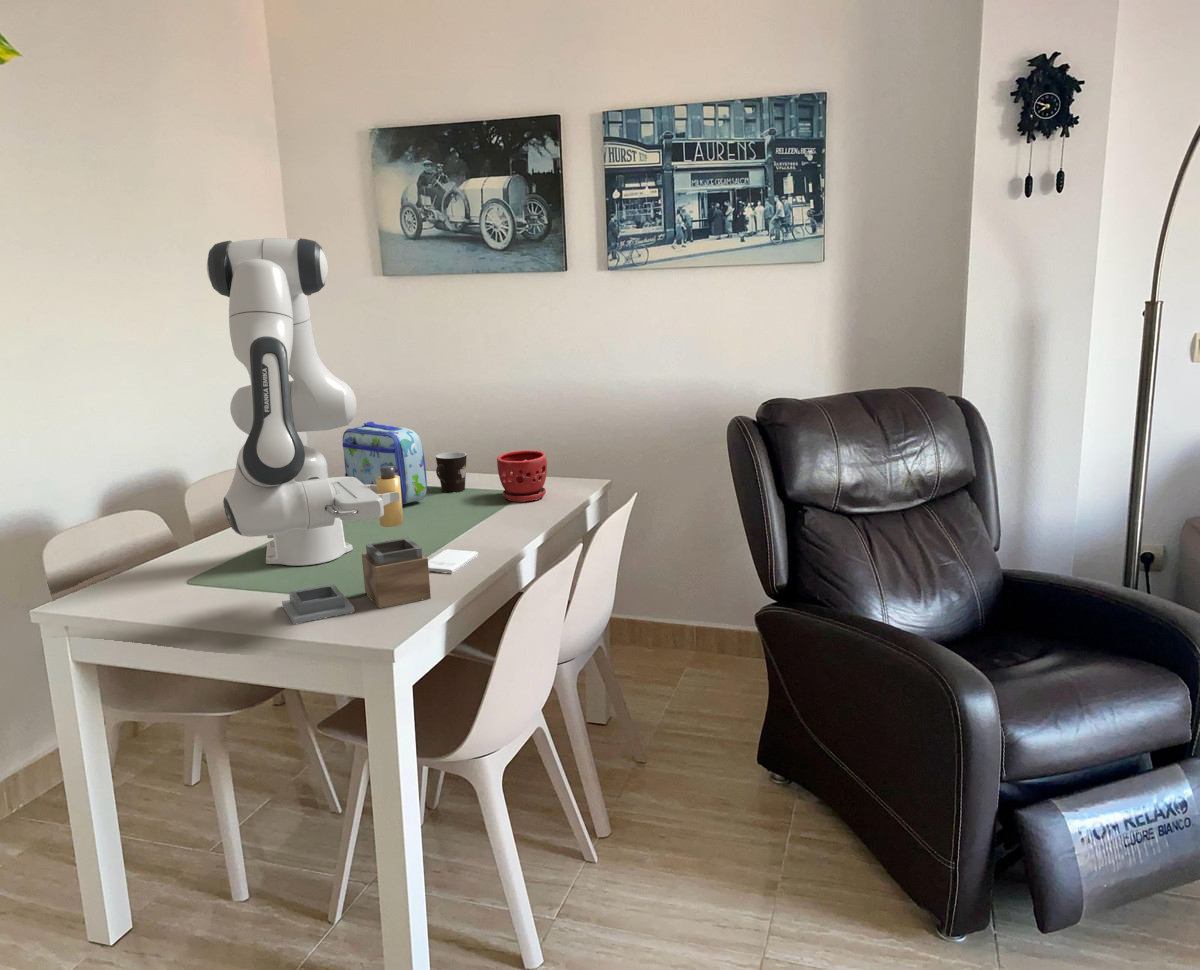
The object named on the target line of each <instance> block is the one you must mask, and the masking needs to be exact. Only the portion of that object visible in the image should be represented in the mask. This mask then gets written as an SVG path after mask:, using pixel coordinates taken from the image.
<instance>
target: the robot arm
mask: <svg viewBox="0 0 1200 970" xmlns="http://www.w3.org/2000/svg"><path fill="white" fill-rule="evenodd" d="M328 265H329V264H328V259H327V256H326V255H325V252H324V250H323V247H322V245H320V244H319V243H318V241H316V240H311V239H307V238H303V237H302V238H299V239H295V238H293V239H292V238H283V237H264V238H258V239H257V238H255V239H246V240H237V241H232V240H225V241H220V242H217V243H214V244H213V246H212V247H211V248H210V249H209V251H208V256H207V261H206V272H207V276H208V279H209V281H210V283H211V286H212V288H213V290H215V291H216V292H217V293H218V294H220V295H222V296H224V297H227V298H229V300H228V303H229V304H228V322H229V323H228V326H229V327H228V328H229V336H230V341H231V342H230V343H231V345H232V346H231V347H232V350H233V351H232V352H233V354H234V357H235V358H236V359H237V360H238V362H240V363H241V364H242V365H243V366H244V367H245V369H246V370H247V372H248V374H249V376H248V377H249V380H250V384H249V385H246V386H242V387H238V388H237V390H236V391H235V392H234V394H233V395H232V398H231V402H230V408H229V409H230V411H229V412H230V415H231V418H232V420H233V422H234V424H235V425H236V426H237V428H238V429H239V430H240V431H242V432H243V433H245V434H247V435H248V436H247V438H246V441H245V442H244V444H243V445H242V447H240V450H239V452H238V455H237V457H236V465H235V472H234V475H233V478H232V480H231V484H230V486H229V489H228V490H227V492H226V494H225V496H224V497H223V502H222V503H223V509H224V513H225V516H226V518H227V521H228V523H229V525H230V527H231V529H232V530H233V531H234V532H235V533H236V534H238V535H240V536H242V537H266V536H267V539H273V540H272V541H271V540H270V541H268V542H267V544H266V554H265V564H267V565H283V566H284V565H286V566H310V565H311V566H312V565H316V564H323V563H327V562H330V561H331V562H332V561H333V560H336V559H339V558H340V557H342V556H343V555H345V553H348V552H351V551H353V550H354V549H353V548H354V547H353V545H352V544H351V543H349V542H346V541H345V539H346V538H345V534H344V526H343V522H358V521H368V520H376V519H377V520H378V519H379V518H380V517H382V516H383V515H384V507H383V506H384V505H386V504H389V503H391V502H397V501H399V493H398V492H397V491H388V493H384V494H377V485H371V484H368V485H364V484H363V483H362V482H360V481H359V480H358V479H357V478H355V477H345V476H336V477H329V472H328V470H329V469H328V462H327V460H326V457H325V456H324V455H323V454H322V453H321V452H319V450H317V449H314V448H312V447H309V446H307V445H306V446H305V445H304V443H303V441H302V440H301V438H300V435H299V434H298V433H305V432H307V433H308V432H319V431H320V432H321V431H322V432H323V431H331V430H335V429H339V428H342V427H345V426H348V425H350V424H351V422H352V421H353V419H354V418H355V415H356V414H357V407H358V405H357V404H358V402H357V398H356V394H355V392H354V390H353V389H352V388H351V386H350V385H349V384H348V383H347V382H345V381H343V380H342V379H340V378H339V377H337V376H336V375H334V373H332V372H331V371H330V370H329V368H328V367H326V365H325V363H324V362H323V361H322V359H321V358H320V356H319V354H318V351H317V345H316V343H315V342H316V341H315V338H314V333H313V332H314V331H313V326H312V319H311V317H312V316H311V310H310V305H309V299H308V297H310V296H311V295H313V294H316V293H319V292H320V291H321V290H322V289H323V288H324V287H325V284H326V280H327V278H328V274H329V266H328ZM289 376H290V377H291V378H292V379H293V380H290V378H289Z"/></svg>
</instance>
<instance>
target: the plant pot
mask: <svg viewBox="0 0 1200 970" xmlns="http://www.w3.org/2000/svg"><path fill="white" fill-rule="evenodd" d="M496 464H497V472H498V476H499V477H498V478H499V480H500V483H501V486H502V488H503V489H504V490H503V491H502V495H503V497H504V498H505V499H506V500H508V501H511V502H515V501H516V503H525V502H526V501H527V502H533V500H536V501H537V500H539V499H541V498H543V497H544V496H545V495H546V492H547V489H546V488H545V487H544V486H545V483H546V480H547V473H548V472H547V469H548V468H547V467H548V465H547V455H546V453H545V452H543V451H541V450H527V449H526V450H517V451H516V450H514V451H509V452H506V453H501V454H500V455H498V456H497V457H496Z"/></svg>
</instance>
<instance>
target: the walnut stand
mask: <svg viewBox="0 0 1200 970" xmlns="http://www.w3.org/2000/svg"><path fill="white" fill-rule="evenodd" d="M365 549H366V553H362V554H361V560H362V561H361V562H362V572H363V583H364V593H365V592H366V593H367V595H368V596H369V597H370V598H371V599H372V600H373V601H374V602H375V603H374V602H373V601H372V600H371V599H370V598H369V597H368V596H367V595H366V596H367V597H368V598H369V599H370V600H371V601H372V602H373V603H374V604H375V606H376V607H377V608H378V607H379V608H380V609H383V608H382V607H385V608H389V607H388V606H390V607H394V606H393V605H395V606H399V604H400V605H404V604H403V603H405V604H410V603H414V602H413V601H415V602H419V601H418V600H420V601H423V600H422V599H425V600H428V599H427V598H430V599H432V598H431V596H432V595H431V585H430V583H431V582H430V572H429V569H428V559H429V558H428V557H426V556H425V555H424V554H423V549H422V547H421V546H419V545H418V544H417V543H416V542H414V541H413V540H412V539H411V538H409V537H405V538H398V539H393V540H386V541H380V542H375V543H369V544H365ZM409 602H410V603H409ZM379 608H378V609H379Z"/></svg>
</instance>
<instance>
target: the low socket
mask: <svg viewBox="0 0 1200 970" xmlns="http://www.w3.org/2000/svg"><path fill="white" fill-rule="evenodd" d="M288 593H289V594H288V595H289V599H286V600H282V601H281V603H282V605H281V607H282V606H283V607H282V608H283V609H285V610H284V611H285V612H287V613H286V614H287V616H288V615H289V616H288V617H289V619H290V618H291V619H290V621H291V622H292V624H293V623H294V624H293V625H297V624H296V623H299V624H302V623H301V622H304V623H306V622H305V621H309V622H311V621H310V620H314V621H316V620H315V619H319V620H321V619H320V618H325V617H330V618H332V617H331V616H335V617H337V616H336V615H340V616H342V615H341V614H345V615H347V614H346V613H350V614H352V613H351V612H355V610H356V609H355V606H354V605H353V604H352V603H351V602H350V600H349V599H348V598H347V597H346V596H345V595H344V593H343V592H342V591H341V590H340V589H339V588H338V586H336V585H335V584H334V583H331V584H327V585H321V586H315V587H311V588H310V587H309V588H304V589H298V590H293V591H292V590H291V591H289V592H288ZM355 613H356V612H355ZM325 619H326V618H325Z"/></svg>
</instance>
